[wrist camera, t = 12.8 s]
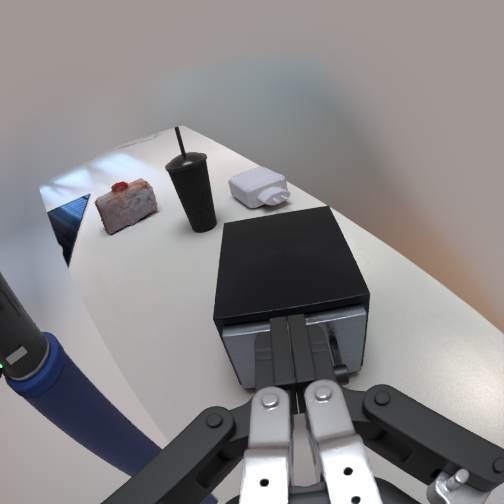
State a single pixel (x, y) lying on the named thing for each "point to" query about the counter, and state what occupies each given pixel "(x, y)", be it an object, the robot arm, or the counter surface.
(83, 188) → the counter surface
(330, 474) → the robot arm
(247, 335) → the drawer
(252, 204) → the charger
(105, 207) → the food item
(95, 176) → the counter surface
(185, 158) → the drinking cup
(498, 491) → the counter surface
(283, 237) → the cabinet
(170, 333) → the counter surface
